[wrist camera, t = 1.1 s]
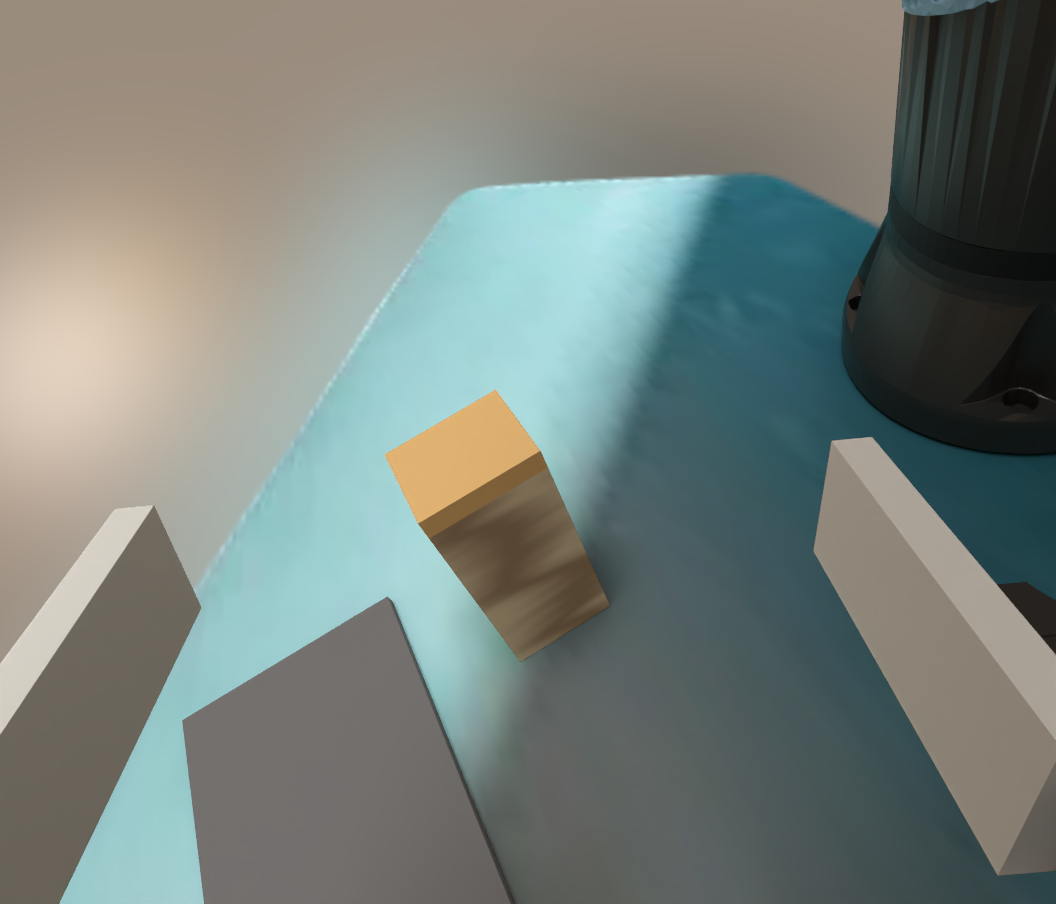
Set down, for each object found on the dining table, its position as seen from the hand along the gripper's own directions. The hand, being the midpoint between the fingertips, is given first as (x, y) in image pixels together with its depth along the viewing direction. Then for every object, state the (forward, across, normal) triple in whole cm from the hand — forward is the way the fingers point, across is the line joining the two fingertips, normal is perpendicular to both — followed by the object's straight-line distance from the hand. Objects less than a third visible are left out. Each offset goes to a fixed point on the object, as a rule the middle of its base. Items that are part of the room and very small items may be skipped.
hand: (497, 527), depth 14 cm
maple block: (+14, +1, -16) cm, 22 cm away
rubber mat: (+7, -10, -21) cm, 24 cm away
